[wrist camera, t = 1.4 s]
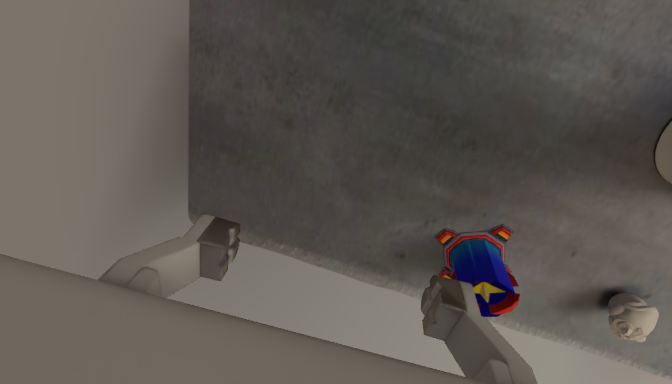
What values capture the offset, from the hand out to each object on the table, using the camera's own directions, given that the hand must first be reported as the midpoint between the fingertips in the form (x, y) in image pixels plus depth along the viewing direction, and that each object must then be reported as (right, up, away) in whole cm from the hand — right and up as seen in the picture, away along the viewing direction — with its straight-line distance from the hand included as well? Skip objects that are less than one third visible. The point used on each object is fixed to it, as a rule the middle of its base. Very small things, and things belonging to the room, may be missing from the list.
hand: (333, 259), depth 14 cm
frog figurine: (+47, -15, +42) cm, 65 cm away
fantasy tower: (+23, -8, +42) cm, 48 cm away
